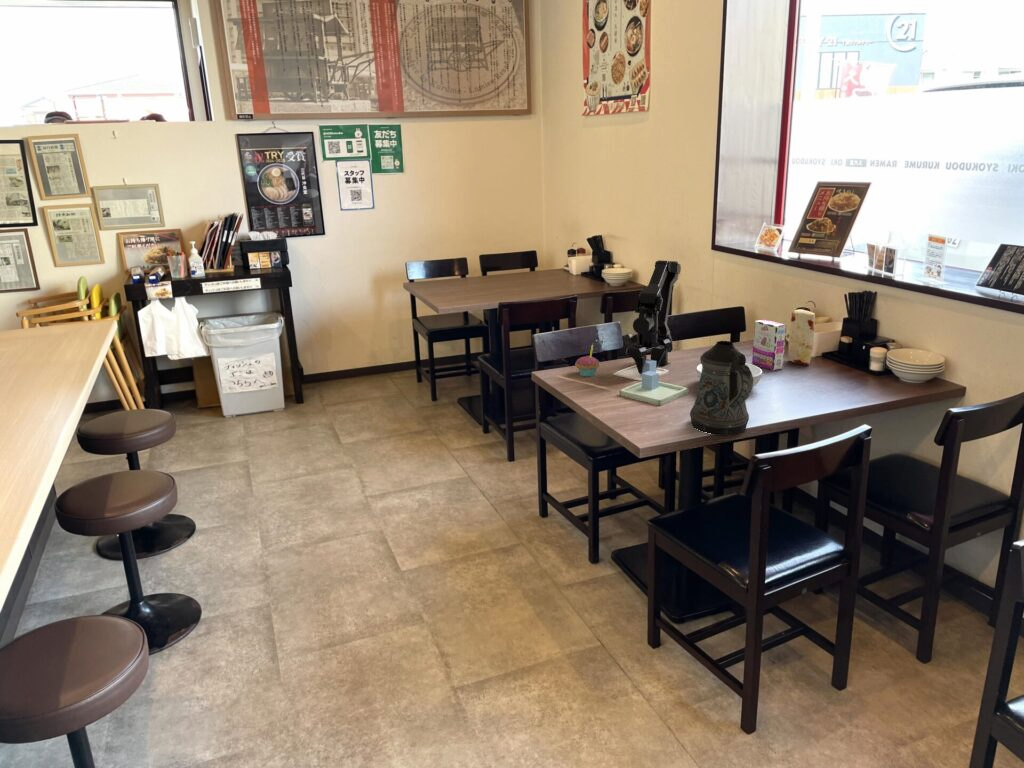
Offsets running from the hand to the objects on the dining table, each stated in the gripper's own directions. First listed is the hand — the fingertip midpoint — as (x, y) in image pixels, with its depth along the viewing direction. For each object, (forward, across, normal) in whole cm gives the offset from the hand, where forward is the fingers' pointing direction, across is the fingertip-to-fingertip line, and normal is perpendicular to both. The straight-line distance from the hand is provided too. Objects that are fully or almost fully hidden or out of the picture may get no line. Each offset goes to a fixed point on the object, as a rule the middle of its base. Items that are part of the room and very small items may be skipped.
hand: (648, 370), depth 264 cm
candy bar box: (+2, -37, +26) cm, 45 cm away
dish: (+2, 0, -3) cm, 4 cm away
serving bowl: (+2, -6, +28) cm, 29 cm away
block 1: (+2, 0, 0) cm, 2 cm away
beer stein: (+2, +26, +45) cm, 52 cm away
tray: (+2, +15, +13) cm, 20 cm away
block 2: (+1, +12, +9) cm, 15 cm away
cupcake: (+2, +13, -17) cm, 22 cm away
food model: (+2, -48, +33) cm, 58 cm away
